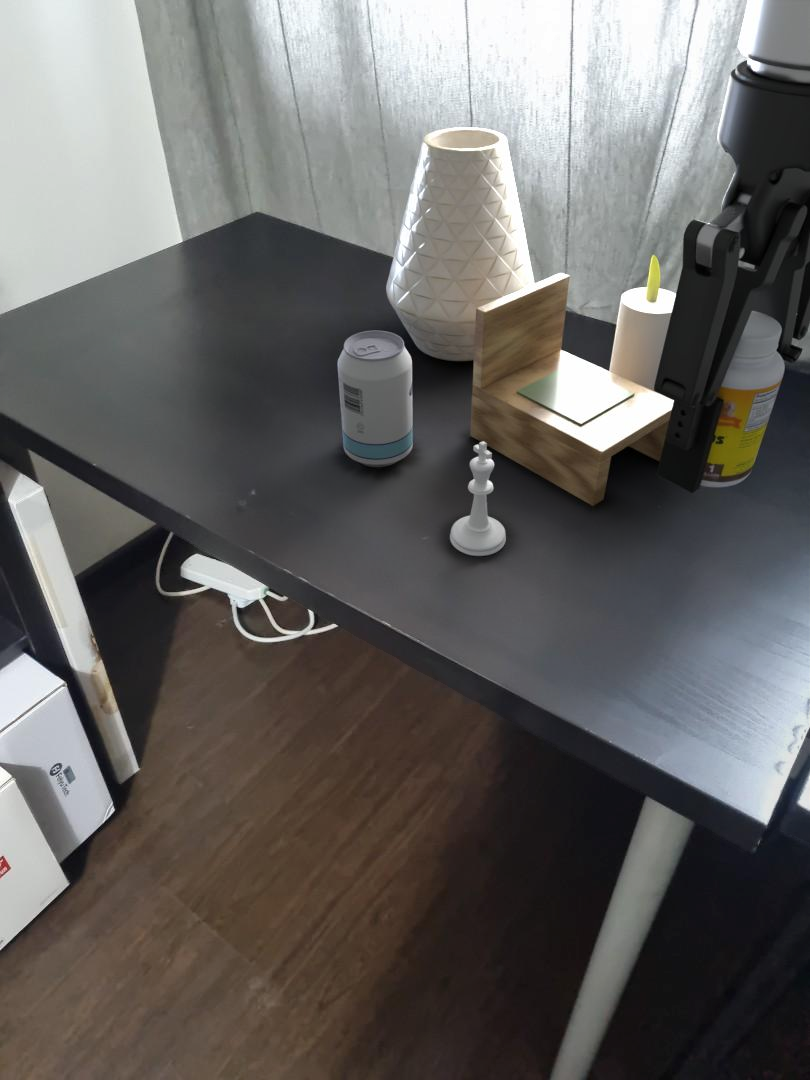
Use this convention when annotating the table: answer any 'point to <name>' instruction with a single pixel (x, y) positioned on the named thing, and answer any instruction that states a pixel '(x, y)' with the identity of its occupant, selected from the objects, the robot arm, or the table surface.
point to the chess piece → (479, 512)
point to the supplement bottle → (745, 402)
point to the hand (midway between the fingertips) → (705, 461)
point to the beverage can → (376, 398)
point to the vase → (457, 240)
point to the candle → (642, 330)
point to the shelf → (555, 395)
